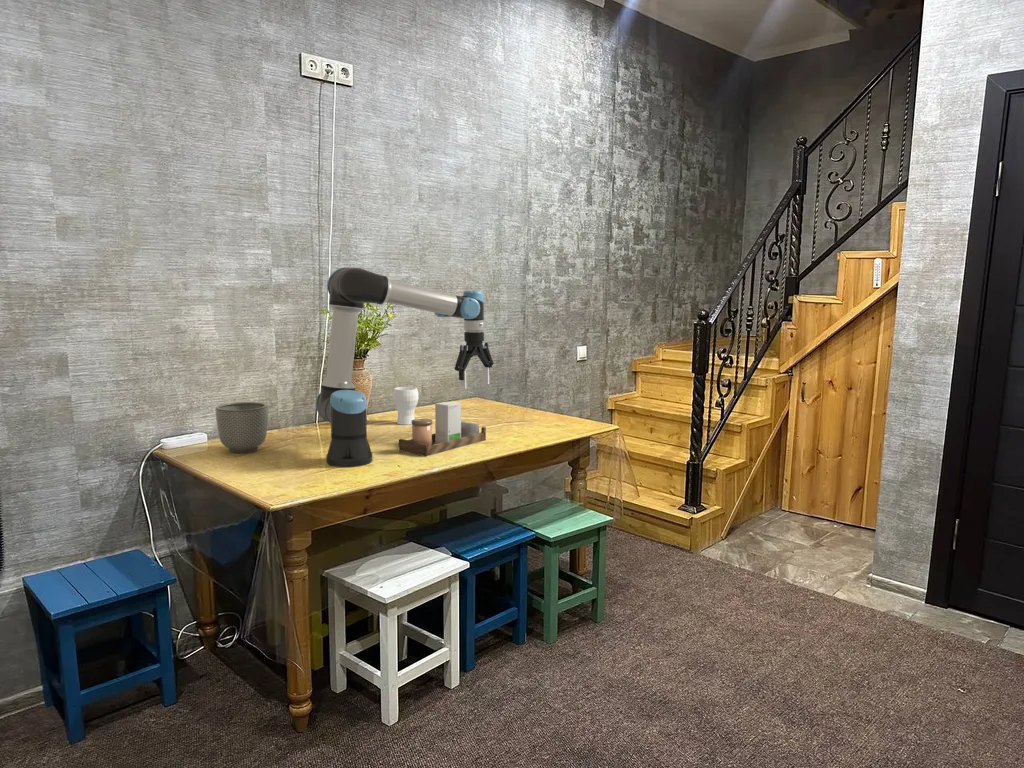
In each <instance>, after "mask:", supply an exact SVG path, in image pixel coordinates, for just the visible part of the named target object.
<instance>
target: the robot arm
mask: <svg viewBox="0 0 1024 768" xmlns="http://www.w3.org/2000/svg"><path fill="white" fill-rule="evenodd" d="M326 288H327V291H328V294H329V301H328V306H329V307H330V308H331V310H332V317H331V329H330V338H329V346H328V347H329V348H328V360H327V370H326V379H325V380H324V381H322V382H321V385H320V392H319V393H318V394H317V397H316V400H315V408H316V411H317V414H318V415H319V417H321V418H322V420H324V421H325V422H327V423H330V437H331V439H330V441H329V442H330V444H329V447H328V451H327V453H326V456H325V460H326V461H325V462H326V464H328V465H330V466H332V467H333V466H334V467H339V468H340V467H342V468H345V467H346V468H347V467H348V468H349V467H350V468H351V467H359V466H364V465H367V464H370V463H372V462H373V452H372V450H371V446H370V444H369V443H370V442H369V440H368V438H367V437H368V436H367V435H368V434H367V433H368V431H367V430H368V429H367V427H368V424H367V421H368V420H367V417H368V416H367V412H368V411H367V407H368V402H367V397H366V395H365V394H364V392H361V391H359V390H356V385H355V384H354V383H353V382H352V380H353V368H354V361H355V349H356V340H357V329H358V320H359V314H360V312H362V311H363V310H364V305H365V304H375V305H383V304H386V303H387V304H392V305H397V306H401V307H405V308H406V307H407V308H411V309H416V310H421V311H427V312H431V313H434V314H435V316H437V318H455V319H463V331H464V333H463V334H464V335H463V336H464V342H465V345H464V344H461V345H460V346H459V352H458V357H457V358H456V359H457V360H456V362H455V366H454V370H455V371H456V372H458V380H459V389H463V390H467V371H466V370H467V367H468V365H469V363H470V361H471V359H472V358H473V357H476V356H477V358H478V359H479V360H480V361H481V364H482V365H483V367H482V384H483V385H484V384H485V385H490V374H491V373H490V372H491V370H490V369H491V368H493V365H494V360H493V357H492V355H491V351H490V349H489V344H488V342H486V341H485V333H484V330H485V329H484V327H485V325H484V324H485V323H484V318H485V317H484V315H485V311H484V309H485V308H484V307H485V306H484V305H485V302H484V301H485V300H484V293H483V291H481V290H464V291H463V294H462V295H457V294H456V295H455V294H452V293H448V292H444V291H441V290H440V291H439V290H436V289H431V288H426V287H422V286H417V285H412V284H409V283H404V282H400V281H395V280H390V279H389V277H388V276H387V275H383V274H382V275H381V274H379V273H375V272H372V271H369V270H367V269H364V268H360V267H341V268H339V269H336V270H334V271H332V273H331V274H330V276H329V277H328V279H327V284H326ZM484 341H485V342H484Z"/></svg>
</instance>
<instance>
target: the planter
mask: <svg viewBox="0 0 1024 768" xmlns="http://www.w3.org/2000/svg"><path fill="white" fill-rule="evenodd" d="M215 417H216V418H215V419H216V424H217V425H216V426H217V432H218V437H219V441H220V442H221V444H222V445H223V446H224V447H225V448H228V449H229V451H230V452H231V453H233V454H234V453H235V454H249V453H253V452H255V451H257V449H258V447H260V446H261V445H262V444H263V443H264V442H265V440H266V438H267V433H268V425H269V424H268V423H269V421H268V419H269V406H268V404H267V403H265V402H260V401H259V402H257V401H256V402H255V401H241V402H239V401H238V402H237V401H236V402H231V403H230V402H227V403H224V404H219V405H217V406H216V407H215Z"/></svg>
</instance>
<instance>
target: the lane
mask: <svg viewBox="0 0 1024 768" xmlns="http://www.w3.org/2000/svg"><path fill="white" fill-rule="evenodd" d="M486 435H487V427H486V426H482V427H481V432H479V433H477V434H473V435H470V436H466V437H461V438H458V439H454V440H450V441H446V442H442V443H438V444H434V443H435V433H432V445H431V446H428V444H424V443H419V442H414V441H412V438H409V439H405V438H399V439H398V451H400V452H405V453H409V454H413V455H414V454H415V455H419V456H423V457H428V456H432V455H436V454H439V453H443V452H447V451H451V450H454V449H457V448H462V447H465V446H468V445H473V444H477V443H479V442H483V441H486V440H487V436H486Z"/></svg>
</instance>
